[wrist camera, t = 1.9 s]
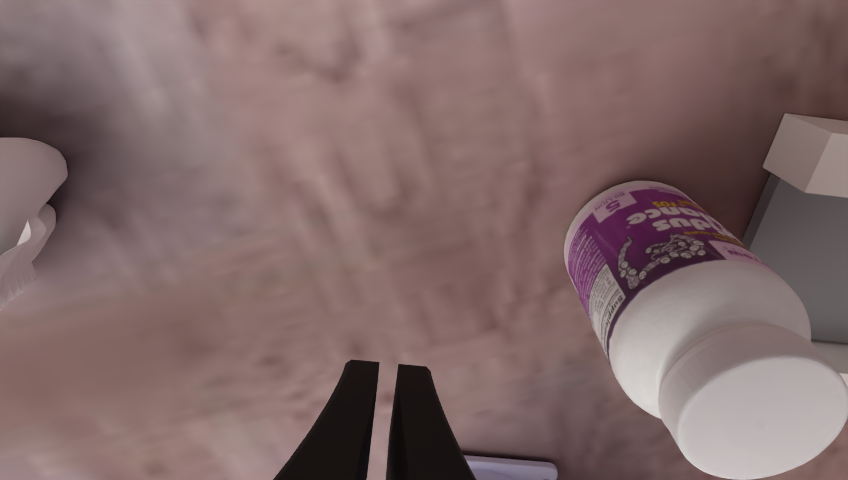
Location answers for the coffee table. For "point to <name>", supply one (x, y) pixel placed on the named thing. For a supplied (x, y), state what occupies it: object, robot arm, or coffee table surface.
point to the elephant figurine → (25, 209)
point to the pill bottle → (703, 333)
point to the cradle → (809, 225)
